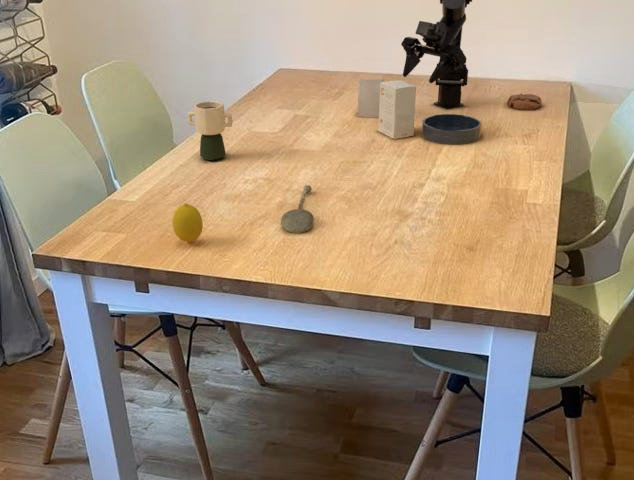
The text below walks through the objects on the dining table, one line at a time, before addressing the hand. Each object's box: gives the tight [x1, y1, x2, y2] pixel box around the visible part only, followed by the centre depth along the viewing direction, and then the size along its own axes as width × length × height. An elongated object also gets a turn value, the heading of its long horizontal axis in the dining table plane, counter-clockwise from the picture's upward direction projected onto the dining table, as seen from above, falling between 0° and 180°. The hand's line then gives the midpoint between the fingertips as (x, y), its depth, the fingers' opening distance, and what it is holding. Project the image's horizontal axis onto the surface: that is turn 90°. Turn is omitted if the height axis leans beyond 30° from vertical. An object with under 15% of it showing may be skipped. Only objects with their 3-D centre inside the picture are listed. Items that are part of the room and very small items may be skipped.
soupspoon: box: [280, 184, 315, 234], centre depth 159 cm, size 22×3×7 cm
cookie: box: [506, 93, 542, 111], centre depth 226 cm, size 10×11×3 cm
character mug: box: [187, 100, 233, 161], centre depth 186 cm, size 11×7×13 cm, turn 80°
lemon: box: [172, 203, 204, 244], centre depth 145 cm, size 6×6×8 cm
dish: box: [421, 113, 483, 145], centre depth 202 cm, size 15×15×4 cm
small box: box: [378, 79, 417, 140], centre depth 201 cm, size 8×6×13 cm
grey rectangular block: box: [357, 78, 385, 118], centre depth 217 cm, size 4×7×10 cm, turn 80°
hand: (416, 79), depth 202 cm, fingers open, 9 cm apart
